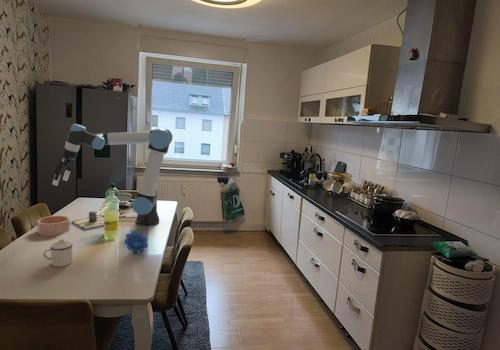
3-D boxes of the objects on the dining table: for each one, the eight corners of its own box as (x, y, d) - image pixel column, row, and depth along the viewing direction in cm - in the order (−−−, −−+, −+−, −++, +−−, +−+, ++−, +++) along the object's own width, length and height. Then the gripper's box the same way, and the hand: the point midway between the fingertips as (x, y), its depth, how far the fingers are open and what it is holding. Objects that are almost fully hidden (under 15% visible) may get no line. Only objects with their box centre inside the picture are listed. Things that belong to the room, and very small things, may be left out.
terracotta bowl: (74, 231, 196) (74, 220, 195) (44, 238, 184) (43, 226, 182) (62, 224, 206) (62, 214, 205) (33, 230, 194) (33, 219, 192)
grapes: (123, 256, 167) (123, 234, 165) (124, 251, 173) (124, 229, 171) (147, 255, 170) (147, 233, 168) (147, 250, 176) (148, 229, 174)
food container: (134, 205, 259) (134, 192, 257) (130, 207, 253) (130, 194, 251) (119, 203, 260) (119, 191, 258) (115, 205, 254) (115, 193, 252)
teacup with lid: (73, 257, 162) (73, 235, 160) (72, 265, 154) (71, 242, 152) (45, 260, 157) (44, 237, 155) (42, 269, 149) (40, 244, 147)
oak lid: (113, 223, 212) (113, 213, 211) (85, 230, 198) (84, 218, 197) (99, 217, 223) (99, 207, 222) (71, 222, 209) (71, 211, 208)
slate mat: (118, 224, 212) (118, 224, 212) (83, 232, 195) (83, 231, 195) (101, 216, 226) (101, 216, 226) (67, 223, 209) (67, 222, 209)
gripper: (73, 145, 206) (62, 176, 209) (54, 149, 182) (43, 184, 184) (85, 149, 207) (74, 180, 210) (68, 154, 183) (56, 189, 186)
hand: (59, 182), depth 197 cm, fingers open, 13 cm apart
